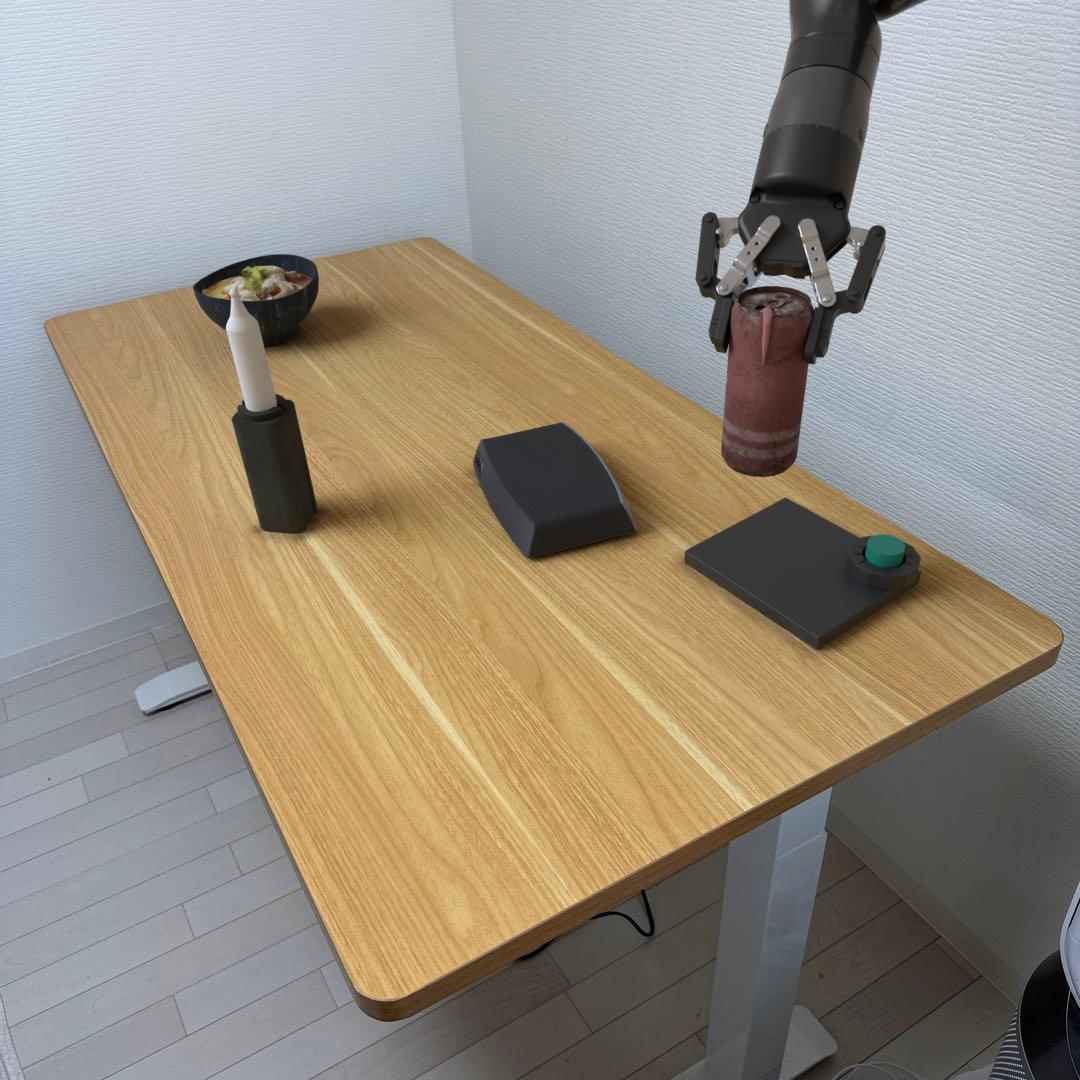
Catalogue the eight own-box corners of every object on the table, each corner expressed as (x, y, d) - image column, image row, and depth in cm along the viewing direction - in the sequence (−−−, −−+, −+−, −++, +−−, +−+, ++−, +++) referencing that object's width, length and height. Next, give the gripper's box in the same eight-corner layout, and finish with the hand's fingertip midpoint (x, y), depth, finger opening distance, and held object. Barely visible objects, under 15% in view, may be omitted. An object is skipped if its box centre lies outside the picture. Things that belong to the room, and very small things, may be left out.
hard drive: (576, 443, 110) (575, 411, 108) (645, 534, 95) (645, 500, 93) (466, 467, 107) (463, 435, 105) (520, 565, 92) (517, 530, 90)
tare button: (909, 559, 86) (913, 545, 85) (887, 573, 84) (890, 559, 84) (880, 543, 88) (882, 529, 87) (857, 557, 87) (860, 543, 86)
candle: (277, 503, 103) (220, 277, 88) (321, 506, 102) (271, 279, 88) (256, 530, 99) (193, 299, 84) (302, 534, 98) (246, 300, 84)
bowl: (183, 345, 138) (164, 277, 132) (272, 303, 149) (258, 240, 143) (264, 371, 130) (247, 300, 124) (352, 325, 141) (341, 258, 135)
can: (720, 479, 77) (732, 315, 69) (721, 439, 82) (732, 282, 74) (797, 482, 76) (819, 317, 68) (794, 442, 81) (813, 283, 73)
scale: (928, 583, 87) (934, 557, 85) (821, 654, 80) (826, 626, 79) (787, 506, 98) (791, 481, 96) (683, 562, 91) (685, 536, 90)
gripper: (908, 180, 75) (862, 384, 73) (726, 168, 80) (679, 359, 78) (912, 124, 68) (862, 349, 66) (712, 115, 73) (661, 324, 71)
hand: (763, 354), depth 72 cm, fingers closed on can, 6 cm apart
